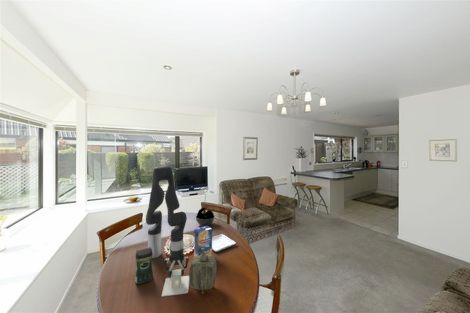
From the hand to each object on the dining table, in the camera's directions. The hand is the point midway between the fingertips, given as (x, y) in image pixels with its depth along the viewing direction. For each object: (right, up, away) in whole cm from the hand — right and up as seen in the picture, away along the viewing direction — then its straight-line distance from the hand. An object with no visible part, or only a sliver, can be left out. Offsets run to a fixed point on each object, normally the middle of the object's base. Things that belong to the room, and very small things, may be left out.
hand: (176, 275), depth 105 cm
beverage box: (+11, -6, +28) cm, 30 cm away
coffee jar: (-21, -6, +5) cm, 23 cm away
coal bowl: (+2, -5, +89) cm, 89 cm away
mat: (0, -6, 0) cm, 6 cm away
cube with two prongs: (0, -5, 0) cm, 5 cm away
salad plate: (+21, -6, +48) cm, 53 cm away
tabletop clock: (+16, -6, -4) cm, 18 cm away
